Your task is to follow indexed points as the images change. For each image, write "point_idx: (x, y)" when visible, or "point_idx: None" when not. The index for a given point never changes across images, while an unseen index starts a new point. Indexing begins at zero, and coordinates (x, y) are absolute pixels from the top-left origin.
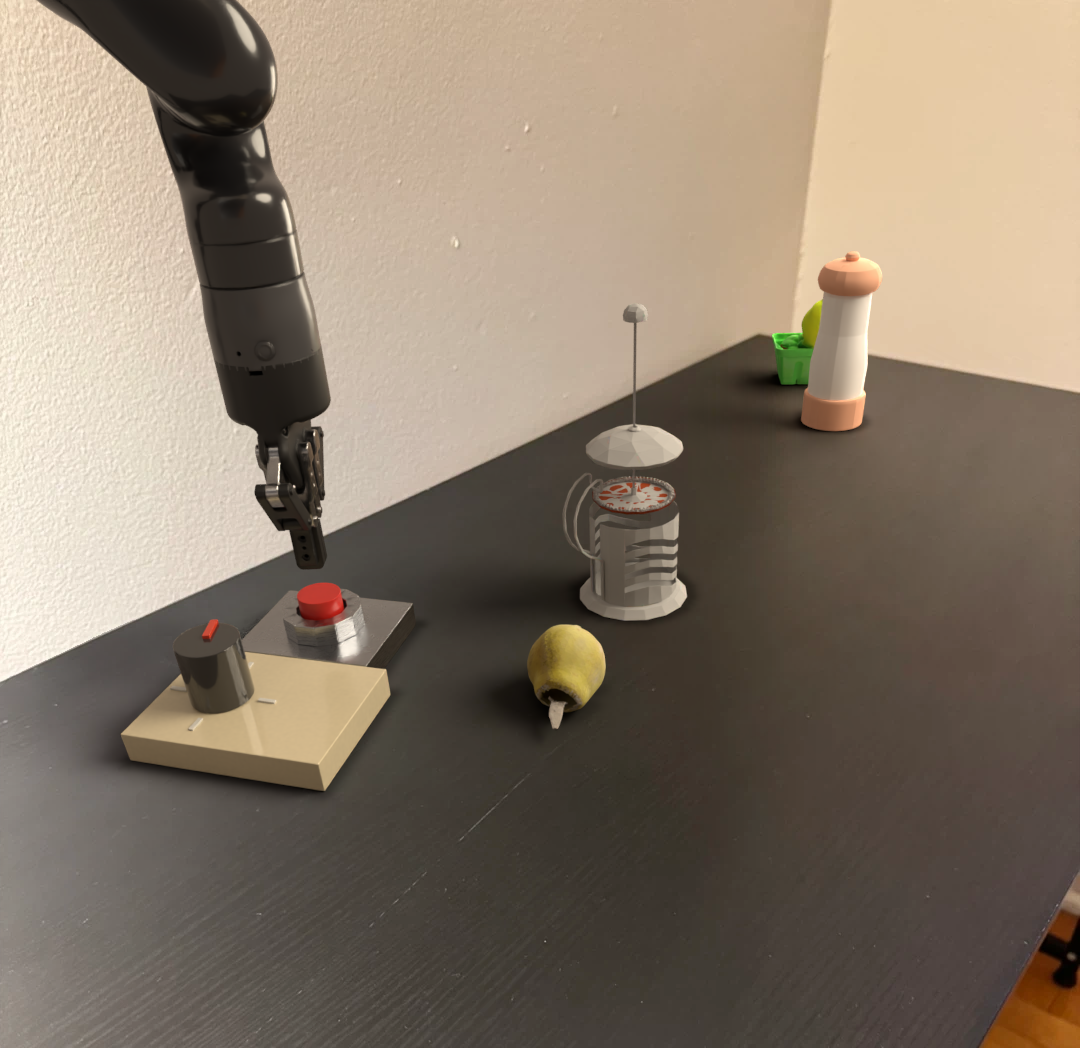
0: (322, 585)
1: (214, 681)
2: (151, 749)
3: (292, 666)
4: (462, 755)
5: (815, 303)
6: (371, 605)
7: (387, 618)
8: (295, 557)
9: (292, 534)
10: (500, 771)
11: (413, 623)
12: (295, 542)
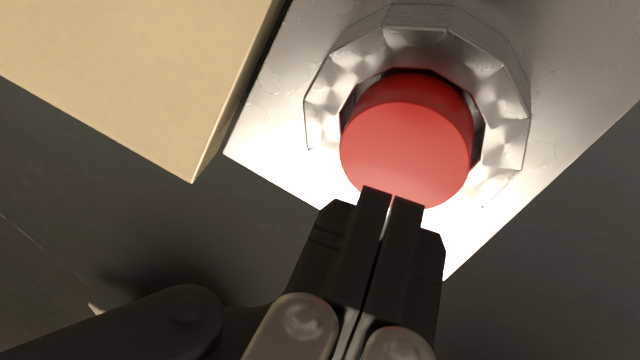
0: (444, 177)
1: None
2: None
3: (224, 9)
4: (69, 199)
5: None
6: (471, 215)
7: None
8: (356, 207)
9: (286, 288)
10: (43, 225)
11: None
12: (296, 265)
